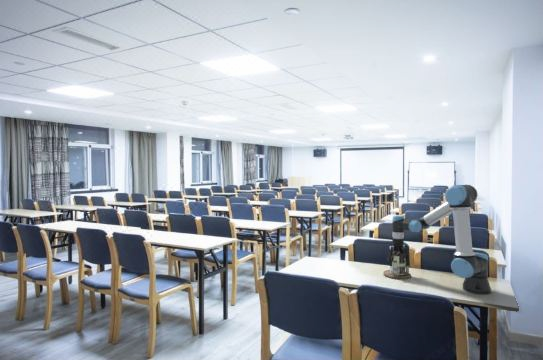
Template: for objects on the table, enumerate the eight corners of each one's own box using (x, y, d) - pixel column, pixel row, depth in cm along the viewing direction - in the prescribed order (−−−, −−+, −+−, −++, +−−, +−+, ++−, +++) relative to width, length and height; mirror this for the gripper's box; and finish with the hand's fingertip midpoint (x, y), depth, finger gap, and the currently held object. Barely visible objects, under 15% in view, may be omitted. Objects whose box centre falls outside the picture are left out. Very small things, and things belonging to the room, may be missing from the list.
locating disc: (416, 277, 248) (416, 266, 248) (396, 280, 241) (396, 269, 241) (397, 270, 265) (397, 260, 265) (378, 273, 258) (378, 263, 257)
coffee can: (404, 271, 256) (404, 251, 256) (406, 275, 246) (406, 254, 246) (388, 270, 259) (389, 250, 258) (390, 274, 248) (390, 254, 248)
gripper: (406, 235, 260) (406, 266, 260) (381, 238, 251) (381, 270, 251) (414, 237, 253) (414, 269, 253) (388, 240, 244) (388, 273, 244)
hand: (397, 269), depth 252 cm, fingers closed on coffee can, 10 cm apart
